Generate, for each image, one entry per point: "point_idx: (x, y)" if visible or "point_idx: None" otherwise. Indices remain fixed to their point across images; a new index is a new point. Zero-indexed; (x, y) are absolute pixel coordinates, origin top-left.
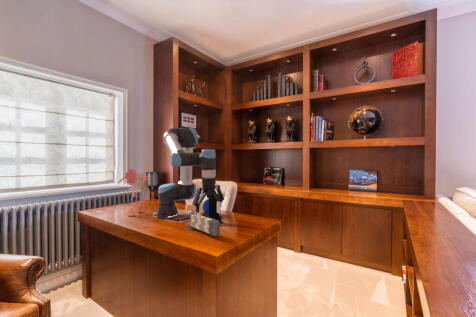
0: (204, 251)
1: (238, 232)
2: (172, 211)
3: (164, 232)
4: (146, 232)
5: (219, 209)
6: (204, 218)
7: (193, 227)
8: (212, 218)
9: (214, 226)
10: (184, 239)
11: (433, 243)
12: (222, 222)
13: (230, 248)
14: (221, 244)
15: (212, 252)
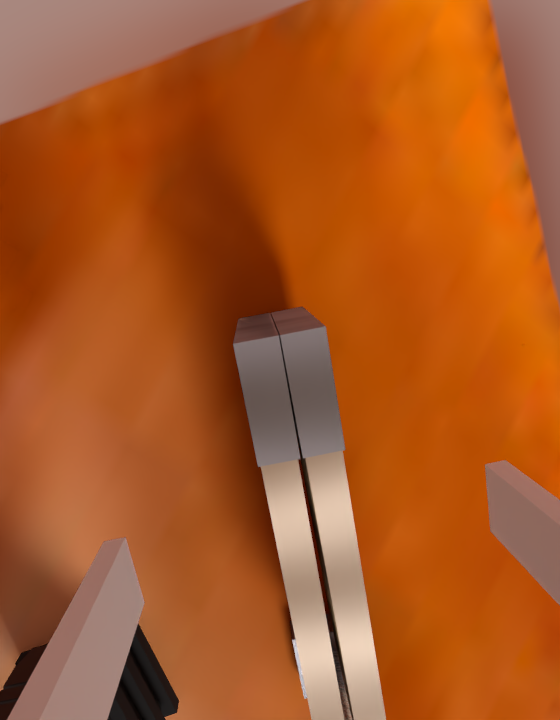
0: (499, 111)
1: (10, 335)
2: None
3: (539, 666)
4: None
5: (104, 594)
6: (338, 566)
7: None
8: (118, 708)
9: (316, 320)
10: (495, 453)
11: None
12: (27, 653)
13: (285, 12)
14: (305, 158)
15: (460, 42)
